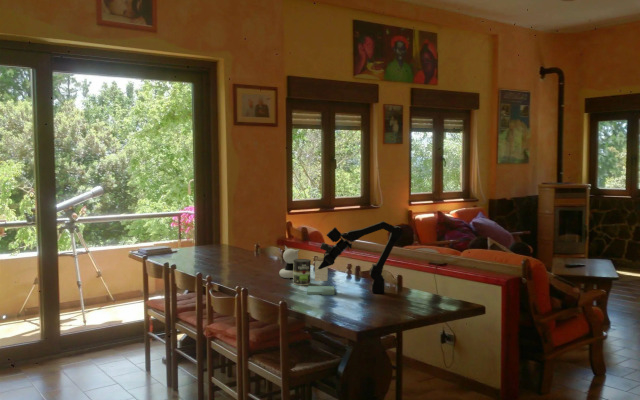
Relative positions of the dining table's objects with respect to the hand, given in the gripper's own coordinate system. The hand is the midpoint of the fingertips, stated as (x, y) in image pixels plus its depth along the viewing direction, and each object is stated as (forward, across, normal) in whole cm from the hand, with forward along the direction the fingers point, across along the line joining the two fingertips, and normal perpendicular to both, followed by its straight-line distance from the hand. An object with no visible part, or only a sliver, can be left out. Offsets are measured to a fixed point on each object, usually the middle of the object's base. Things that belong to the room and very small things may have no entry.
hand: (318, 267), depth 323 cm
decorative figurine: (+23, -40, -4) cm, 46 cm away
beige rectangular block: (+4, 0, +6) cm, 7 cm away
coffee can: (+17, -20, +2) cm, 27 cm away
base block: (+9, 0, +11) cm, 14 cm away
